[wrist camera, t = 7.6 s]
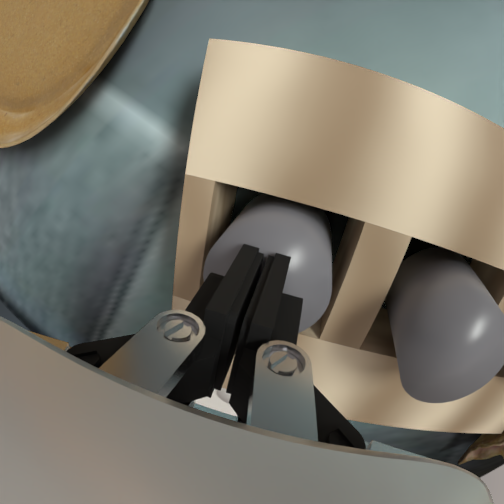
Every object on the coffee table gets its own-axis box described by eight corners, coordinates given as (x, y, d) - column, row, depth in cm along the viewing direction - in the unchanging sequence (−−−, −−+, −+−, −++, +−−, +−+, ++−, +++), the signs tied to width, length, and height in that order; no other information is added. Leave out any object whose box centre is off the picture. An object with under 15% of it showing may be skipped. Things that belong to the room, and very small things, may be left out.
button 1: (343, 204, 14) (350, 246, 10) (316, 287, 16) (309, 350, 12) (247, 177, 15) (212, 208, 10) (230, 263, 17) (197, 317, 12)
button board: (593, 206, 10) (630, 229, 7) (488, 394, 18) (500, 433, 14) (238, 55, 13) (209, 38, 9) (194, 327, 20) (169, 368, 17)
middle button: (487, 262, 12) (532, 322, 8) (445, 338, 14) (468, 407, 10) (408, 234, 12) (440, 294, 8) (370, 319, 14) (378, 394, 10)
